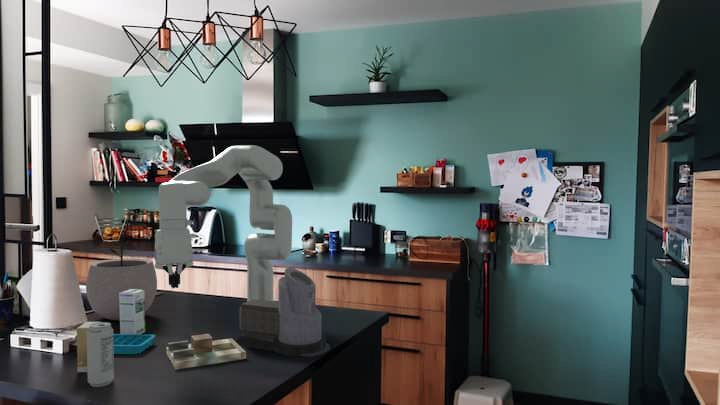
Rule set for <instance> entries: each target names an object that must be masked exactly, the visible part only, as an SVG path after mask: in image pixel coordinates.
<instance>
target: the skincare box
mask: <svg viewBox="0 0 720 405" xmlns="http://www.w3.org/2000/svg"><path fill="white" fill-rule="evenodd" d="M99 322H100V321H85V322H83V323H82V324H81V325H79V326H77V328H76V343H77V346H76V352H77V353H76V355H77V356H76V357H77V363H76V364H77V373H88V371H87V331H88V330H89V328H90V327H89V326H90V325H91V324H94V323H99Z"/></svg>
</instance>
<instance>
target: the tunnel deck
mask: <svg viewBox="0 0 720 405" xmlns="http://www.w3.org/2000/svg"><path fill="white" fill-rule="evenodd" d="M235 341H236V340H234V338H232V337H231V338H225V339H216V340H212V352H207V353H200V354H194V348H191V343H189V340H181V341H180V340H179V341H173V342H172V341H171V342H167V346H166V355H167V357H168V358H169V360H171V361H170V362H171V364H172V365H173V368H174V369H175V370H182V369H183V370H184V369H189V368H194V367H201V366H202V367H203V366H208V365H214V364H221V363H228V362H234V361H238V360H239V361H240V360H244V359H245V360H246V359H247V352H246V350H245V349H244V348H242V346H239V345H238V344H237V343H236V342H235Z"/></svg>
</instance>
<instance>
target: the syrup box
mask: <svg viewBox="0 0 720 405" xmlns="http://www.w3.org/2000/svg"><path fill="white" fill-rule="evenodd" d="M119 304H120V320H119V329H120V331H119V334H141V335H143V333H144V334H145V332H146V311H145V297H144V290H140V289H130V290H127V291H124V292H121V293H119Z"/></svg>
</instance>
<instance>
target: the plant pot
mask: <svg viewBox="0 0 720 405" xmlns="http://www.w3.org/2000/svg"><path fill="white" fill-rule="evenodd" d="M129 241H130V240H129V239H128V240H127V241H126V242H125V245H124V246H123V236H121V239H120V243H121V244H119V243H112V245H113V246H120V254H119V253H118V252H116V250H113V249H112V248H109V249H110V251H111V253H114V254H116V256H117V257H120V258H110V259H104V260H98V261H93V262H91V263H90V265H89V268H88V272H87V274H86V275H87V276H86V282H85V292H86V296H87V300H88V301H87V302H88V303H89V305H90V307H91V309H92V310H93V311H94V312H95V313H96V314H97V315H99V316H100V317H102V318H104V319H107V320H110V321H120V304H119V293H121V292H124V291H127V290H130V289H140V290H144V297H145V312H146V311H147V310H148V309H149V308H150V307H151V306H152V304H153V302H154V299H155V297H156V294H157V289H158V277H157V272H156V268H155V263H154V262H153V260H152V259H148V258H135V257H134V258H133V257H130V258H127V257H126V258H124V257H123V256H124V255H123V251H124V250H125V249H126V245H127V244H128V242H129Z"/></svg>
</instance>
